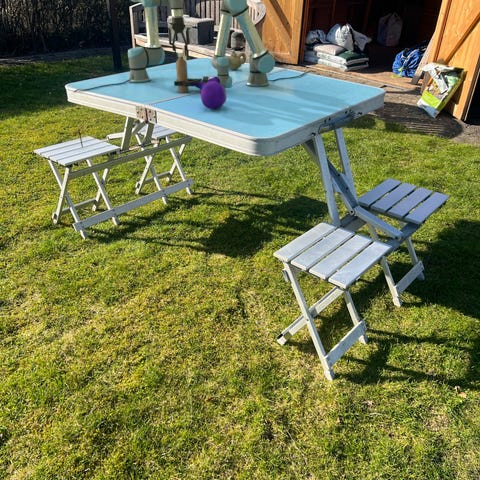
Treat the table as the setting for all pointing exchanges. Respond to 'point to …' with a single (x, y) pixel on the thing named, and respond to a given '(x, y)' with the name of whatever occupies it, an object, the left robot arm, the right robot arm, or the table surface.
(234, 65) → the beige rounded piece
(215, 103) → the toy
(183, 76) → the bottle
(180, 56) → the cap
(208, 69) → the table surface
